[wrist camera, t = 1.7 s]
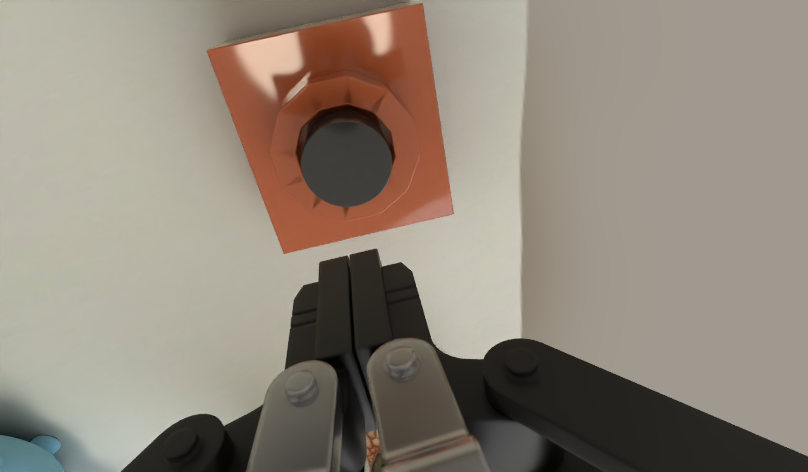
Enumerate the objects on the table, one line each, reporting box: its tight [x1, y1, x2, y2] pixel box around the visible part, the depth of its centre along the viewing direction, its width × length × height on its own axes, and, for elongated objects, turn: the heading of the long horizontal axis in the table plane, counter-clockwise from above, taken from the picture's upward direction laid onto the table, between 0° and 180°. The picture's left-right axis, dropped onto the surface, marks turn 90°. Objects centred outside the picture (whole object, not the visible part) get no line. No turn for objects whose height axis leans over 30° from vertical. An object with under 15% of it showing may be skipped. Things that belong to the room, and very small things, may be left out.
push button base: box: [207, 2, 454, 254], centre depth 24 cm, size 11×10×6 cm
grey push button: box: [301, 110, 392, 207], centre depth 21 cm, size 4×4×2 cm
